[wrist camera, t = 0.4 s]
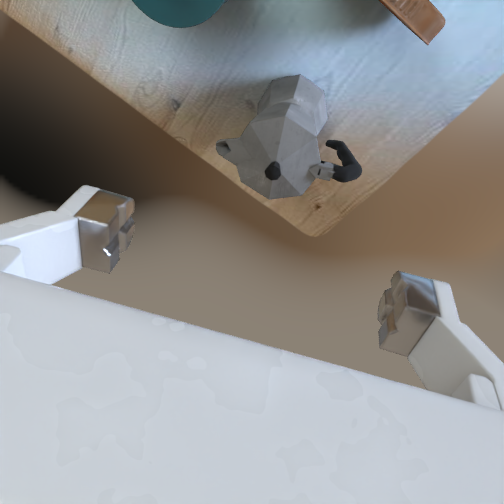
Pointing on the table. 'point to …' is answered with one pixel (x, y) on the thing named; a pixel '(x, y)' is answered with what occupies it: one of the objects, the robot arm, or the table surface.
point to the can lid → (179, 11)
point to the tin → (417, 17)
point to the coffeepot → (287, 142)
